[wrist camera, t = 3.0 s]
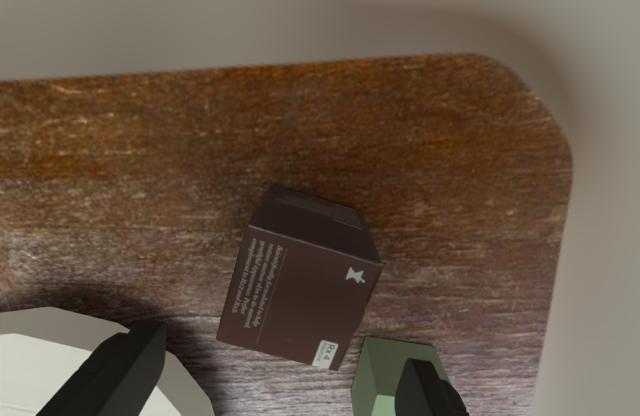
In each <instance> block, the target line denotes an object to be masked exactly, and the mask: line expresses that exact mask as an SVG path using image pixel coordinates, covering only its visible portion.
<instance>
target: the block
mask: <svg viewBox="0 0 640 416" xmlns="http://www.w3.org/2000/svg"><path fill="white" fill-rule="evenodd" d="M408 358H413V359H420V360H427V361H431V362H432V363H433V365H434V367H435V369H436V371H437V374H438V376H439V378H440V379H442V380H447V381H448V382H449V384H450V385H451V383H450V381H449V379H448V377H447V374H446V372H445V370H444V368H443V366H442V364H441V362H440V360H439V358H438V355H437V353H436V351H435V349H434V347H433V346H427V345H421V344H414V343H408V342H401V341H395V340H388V339H382V338H375V337H369V336H365V339H364V343H363V347H362V351H361V354H360V358H359V362H358V366H357V369H356V373H355V377H354V381H353V384H352V388H351V397H352V406H353V415H354V416H396V415H395V408H394V400H395V393H396V390H397V387H398V383H399V380H400V377H401V374H402V371H403V368H404V365H405V362H406V360H407V359H408ZM451 386H452V385H451Z"/></svg>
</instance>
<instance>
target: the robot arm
mask: <svg viewBox="0 0 640 416" xmlns="http://www.w3.org/2000/svg"><path fill="white" fill-rule="evenodd" d="M166 337H167V323H166V321H160V320H154V319H147V318H141V319H139V320H138V321H137V323H136V324H135V325H134V326H133V328H132V329H131V330H130V331H129V332H128V333H122V332H118V333H116V334H115V335H113V336H111V337H110V338H108V339H106V340H105V341H103V342H101V344H100V345H99V346H98V347H97V348H96V349H95V350H94V351H93V352H92V353H91V355H90V356H89V358H88V359H86V360H85V361H84V362H83V363H82V365H81V366H80V367H79V369H78V371H77V370H76V371H75V372H74V373H73V375H72V376H71V377H70V378H69V379H68V380H67V381H66V382H65V383H64V385H63V386H62V387H61V388H60V389H59V390H58V391H57V392H56V393H55V394H54V396H53V397H52V398H51V399H50V400H49V401H48V402H47V403H46V404H45V406H44V407H43V408H42V409H41V410H40V411H39V412H38V413H37V414H36V416H139V414H140V412H141V411H142V409H143V407H144V405H145V404H146V402H147V400H148V398H149V397H150V395H151V393H152V391H153V390H154V388H155V386H156V384H157V383H158V381H159V379H160V376H161V374H162V371H163V368H164V363H165V354H166ZM394 408H395V415H396V416H470V415H469V413H468V412H466V407H465V405H464V403H463V401H462V399H461V397H460V395H459V394H458V392H457V391H456V390H455V389H454V388H453V387H452V386H451V385H450V384H449V382H448V381H447V380H442V379H440V378H439V376H438V374H437V371H436V369H435V367H434V365H433V363H432V362H431V361H427V360H420V359H413V358H408V359H407V360H406V362H405V365H404V368H403V371H402V374H401V377H400V380H399V383H398V387H397V390H396V393H395V400H394Z"/></svg>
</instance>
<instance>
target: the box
mask: <svg viewBox="0 0 640 416" xmlns="http://www.w3.org/2000/svg"><path fill="white" fill-rule="evenodd" d="M382 270H383V264H382V262H381V260H380V256H379V254H378V251H377V249H376V246H375V244H374V241H373V239H372V236H371V234H370V231H369V229H368V226H367V224H366V221H365V218H364V216H363V213H362V212H361V211H360V210H357V209H353V208H350V207H347V206H344V205H340V204H337V203H334V202H330V201H327V200H324V199H321V198H317V197H314V196H311V195H308V194H304V193H301V192H298V191H295V190H291V189H288V188H285V187H282V186H278V185H275V184H271V185H270V187H269V189H268V191H267V192H266V194H265V196H264V198H263V200H262V202H261V203H260V206H259V207H258V209H257V211H256V213H255V214H254V216H253V218H252V220H251V222H250V223H249V224H248V226H247V227H246V230H245V233H244V237H243V240H242V243H241V247H240V250H239V253H238V257H237V260H236V264H235V268H234V272H233V275H232V279H231V282H230V286H229V290H228V293H227V297H226V301H225V305H224V308H223V312H222V316H221V319H220V324H219V327H218V332H217V337H216V340H217V341H219V342H223V343H227V344H230V345H234V346H238V347H243V348H246V349H250V350H254V351H258V352H262V353H267V354H270V355H274V356H278V357H282V358H286V359H290V360H293V361H297V362H301V363H305V364H308V365H312V366H315V367H320V368H325V369H329V370H335V371H338V370H339V369H340V368H341V365H342V363H343V361H344V358H345V356H346V354H347V351H348V349H349V346H350V344H351V341H352V339H353V337H354V334H355V332H356V331H357V330H358V328H359V326H360V324H361V322H362V320H363V317H364V313H365V309H366V306H367V304H368V302H369V299H370V297H371V295H372V293H373V290H374V288H375V286H376V283H377V282H378V279H379V277H380V274H381V272H382Z"/></svg>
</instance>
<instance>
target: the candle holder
mask: <svg viewBox="0 0 640 416" xmlns="http://www.w3.org/2000/svg"><path fill="white" fill-rule="evenodd" d="M129 331H130V330H129V329H127V328H125V327H124V326H122V325H120V324H118V323H115V322H111V321H107V320H103V319H99V318H95V317H91V316H87V315H83V314H79V313H75V312H71V311H67V310H62V309H58V308H54V307H43V308H35V309H26V310H18V311H10V312H2V313H0V416H36V414H37V413H38V412H39V411H40V410H41V409H42V408H43V407H44V406H45V404H46V403H47V402H48V401H49V400H50V399H51V398H52V397H53V396H54V394H55V393H56V392H57V391H58V390H59V389H60V388H61V387H62V386H63V385H64V383H65V382H66V381H67V380H68V379H69V378H70V377H71V376H72V375H73V373H74V372H75V371H76V370H77V371H78V369H79V367H80V366H81V365H82V363H83V362H84V361H85V360H86V359H88V358H89V356H90V355H91V353H92V352H93V351H94V350H95V349H96V348H97V347H98V346H99V345H100V344H101V342H103V341H105V340H106V339H108V338H110V337H111V336H113V335H115V334H116V333H118V332H122V333H128V332H129ZM139 416H215V414H214V411H213V408H212V404H211V401H210V399H209V397H208V396H207V395H206V394H205V392H204V391H203V390H202V389H201V387H200V386H199V385H198V384H197V382H196V381H195V380H194V379H193V377H192V376H191V375H190V374H189V372H188V371H187V370H186V369H185V367H184V366H183V365H182V364H181V362H180V361H179V360H178V359H177V357H176V356H175V355H173V354H171V353H170V352H168V351H166V354H165V363H164V368H163V371H162V374H161V376H160V379H159V381H158V383H157V384H156V386H155V388H154V390H153V391H152V393H151V395H150V397H149V398H148V400H147V402H146V404H145V405H144V407H143V409H142V411H141V412H140V414H139Z"/></svg>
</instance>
